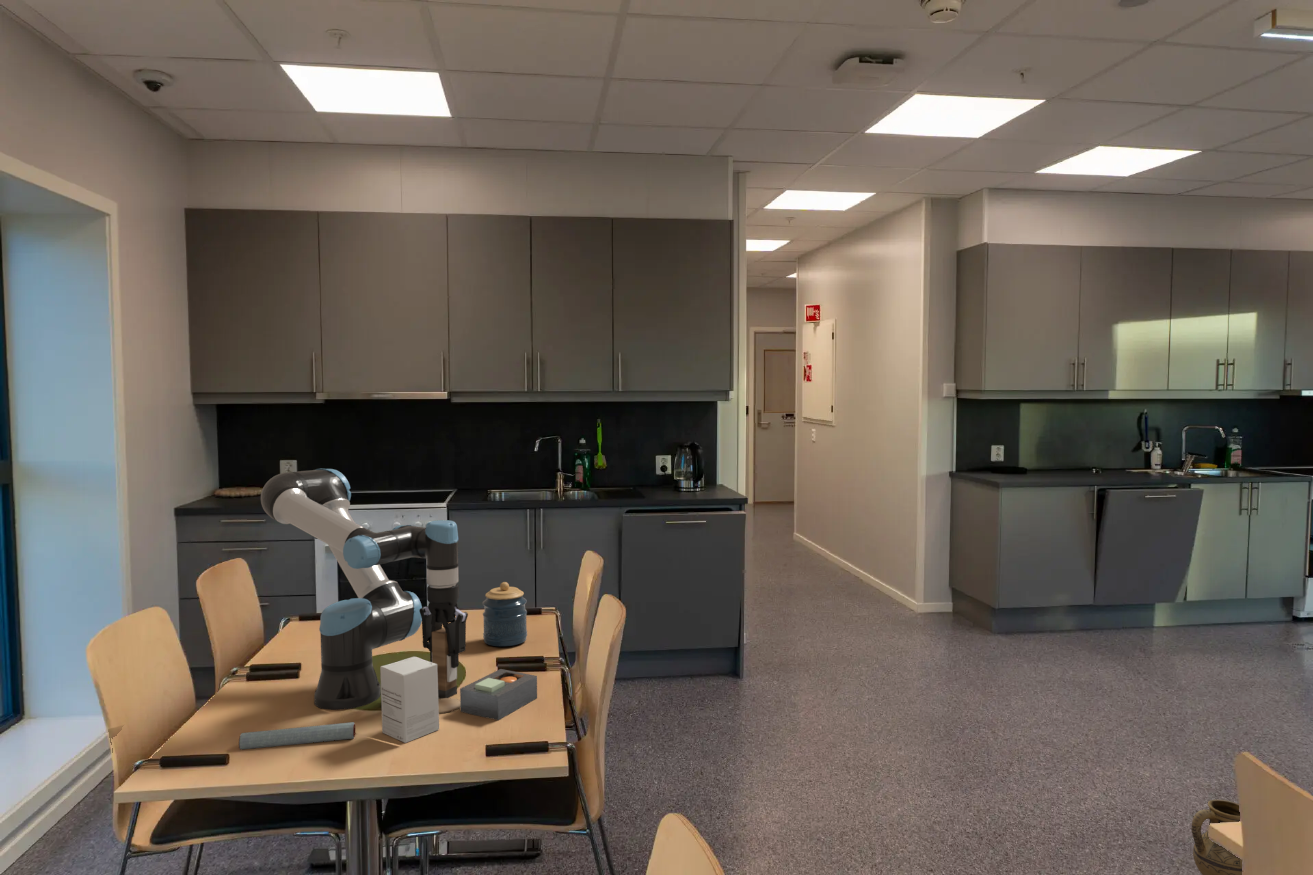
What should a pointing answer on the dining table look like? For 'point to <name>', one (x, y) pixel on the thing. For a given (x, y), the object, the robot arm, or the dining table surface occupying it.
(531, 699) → the grey slotted holder
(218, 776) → the dining table surface
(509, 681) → the plunger
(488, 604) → the canister
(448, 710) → the coaster
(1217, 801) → the decorative pitcher
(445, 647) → the walnut bar
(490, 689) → the on button
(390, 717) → the supplement box
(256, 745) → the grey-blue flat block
